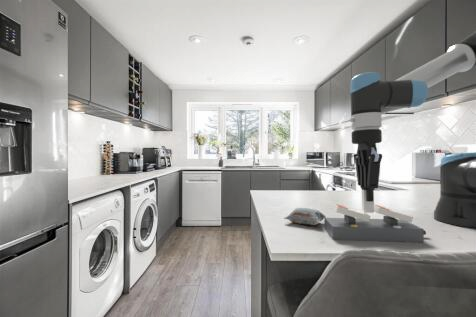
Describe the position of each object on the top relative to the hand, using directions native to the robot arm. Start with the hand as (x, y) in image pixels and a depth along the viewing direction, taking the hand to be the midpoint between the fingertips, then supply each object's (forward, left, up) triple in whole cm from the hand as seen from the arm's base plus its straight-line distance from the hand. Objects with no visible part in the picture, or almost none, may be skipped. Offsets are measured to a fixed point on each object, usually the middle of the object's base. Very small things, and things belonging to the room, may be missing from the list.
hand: (368, 211), depth 67 cm
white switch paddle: (+5, 0, -1) cm, 5 cm away
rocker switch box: (-2, 0, -7) cm, 7 cm away
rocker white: (-6, 0, -1) cm, 6 cm away
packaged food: (+16, -10, -7) cm, 20 cm away
